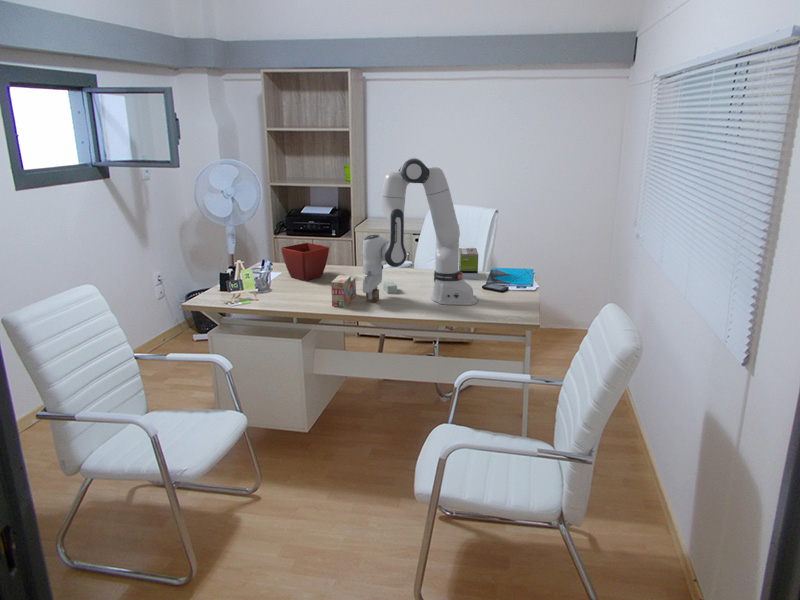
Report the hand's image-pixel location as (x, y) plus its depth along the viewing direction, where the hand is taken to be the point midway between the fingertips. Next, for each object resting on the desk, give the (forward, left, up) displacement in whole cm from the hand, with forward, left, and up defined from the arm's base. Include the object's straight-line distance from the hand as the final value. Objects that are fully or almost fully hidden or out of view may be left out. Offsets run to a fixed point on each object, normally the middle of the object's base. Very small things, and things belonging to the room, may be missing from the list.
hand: (372, 296), depth 285 cm
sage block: (-4, -18, -2) cm, 19 cm away
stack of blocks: (+13, +3, -2) cm, 14 cm away
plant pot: (+48, -32, -2) cm, 58 cm away
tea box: (-38, -58, -2) cm, 69 cm away
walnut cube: (0, 0, -2) cm, 2 cm away
